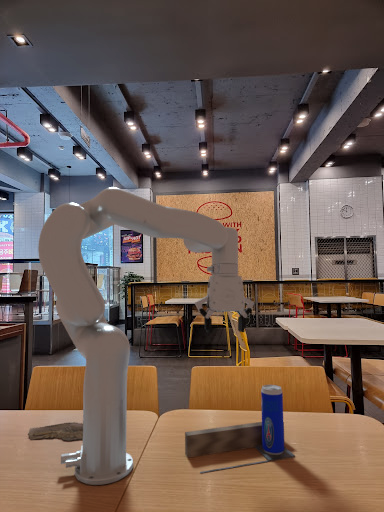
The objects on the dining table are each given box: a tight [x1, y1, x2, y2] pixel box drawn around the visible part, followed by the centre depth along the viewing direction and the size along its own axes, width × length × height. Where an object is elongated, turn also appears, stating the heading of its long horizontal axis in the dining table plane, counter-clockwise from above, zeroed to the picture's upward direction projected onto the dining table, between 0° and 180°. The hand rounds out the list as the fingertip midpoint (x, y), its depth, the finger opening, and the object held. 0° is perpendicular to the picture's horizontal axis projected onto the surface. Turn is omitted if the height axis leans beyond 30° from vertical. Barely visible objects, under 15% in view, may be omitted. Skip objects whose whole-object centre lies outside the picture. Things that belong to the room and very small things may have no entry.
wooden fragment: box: [27, 421, 83, 442], centre depth 94 cm, size 26×11×1 cm, turn 85°
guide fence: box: [184, 421, 296, 474], centre depth 81 cm, size 26×9×5 cm, turn 106°
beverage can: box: [260, 384, 285, 455], centre depth 82 cm, size 5×5×15 cm
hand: (225, 332), depth 94 cm, fingers open, 9 cm apart
